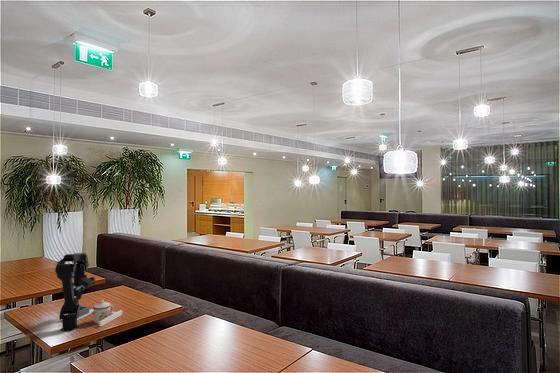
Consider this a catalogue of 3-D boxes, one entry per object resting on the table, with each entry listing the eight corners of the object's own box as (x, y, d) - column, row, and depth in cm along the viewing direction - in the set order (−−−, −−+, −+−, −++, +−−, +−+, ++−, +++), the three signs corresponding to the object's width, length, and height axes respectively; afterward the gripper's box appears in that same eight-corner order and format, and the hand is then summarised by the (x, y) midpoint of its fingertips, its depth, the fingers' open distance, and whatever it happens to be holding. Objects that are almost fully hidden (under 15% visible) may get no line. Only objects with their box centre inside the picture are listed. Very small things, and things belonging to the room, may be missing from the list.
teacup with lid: (99, 324, 189) (100, 304, 189) (89, 321, 193) (89, 301, 193) (118, 317, 200) (118, 298, 200) (108, 314, 204) (108, 295, 204)
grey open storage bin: (100, 326, 187) (101, 318, 187) (61, 322, 192) (61, 313, 192) (122, 314, 204) (122, 306, 204) (85, 310, 210) (85, 303, 210)
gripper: (78, 278, 190) (78, 306, 190) (102, 270, 208) (101, 295, 208) (61, 277, 192) (61, 304, 192) (86, 269, 210) (86, 294, 210)
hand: (78, 299), depth 200 cm, fingers closed
